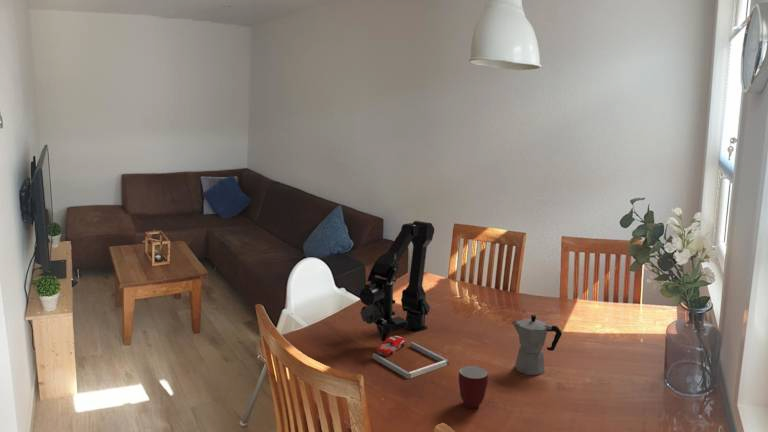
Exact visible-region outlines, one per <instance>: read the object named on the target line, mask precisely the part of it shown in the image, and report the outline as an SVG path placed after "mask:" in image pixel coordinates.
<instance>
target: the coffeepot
mask: <svg viewBox="0 0 768 432" xmlns="http://www.w3.org/2000/svg"><path fill="white" fill-rule="evenodd" d="M511 324H512V325H513V326H514V328H515V330H516V332H517V334H518V339H519V344H520V347H519V348H518V352H517V357H516V361H515V365H514V367H515V369H516V370H517V371H518V372H519V373H521V374H524V375H527V376H538V375H541V374H543V373H544V372H545V371H546V369H545V362H544V351H543V347H544V346H545V344H546V343H545V342H546V338H547V334H548V332H551V333H552V332H553V333H554V332H555V334H554V338H553V340H552V342H551V346H549V347H547V346H546V349H547V351H552V352H553V351H554V350H555V349H556V347H557V344H558V343H559V341H560V338H561V337H562V335H563V333H562V331H561V329H560V328H559V327H558V326H557V325H552V324H547V322H544V321H541V320H538V319H537V316H536V315H533V314H531V315H530V318H528V319H522V320H513V321H512V322H511Z"/></svg>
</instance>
